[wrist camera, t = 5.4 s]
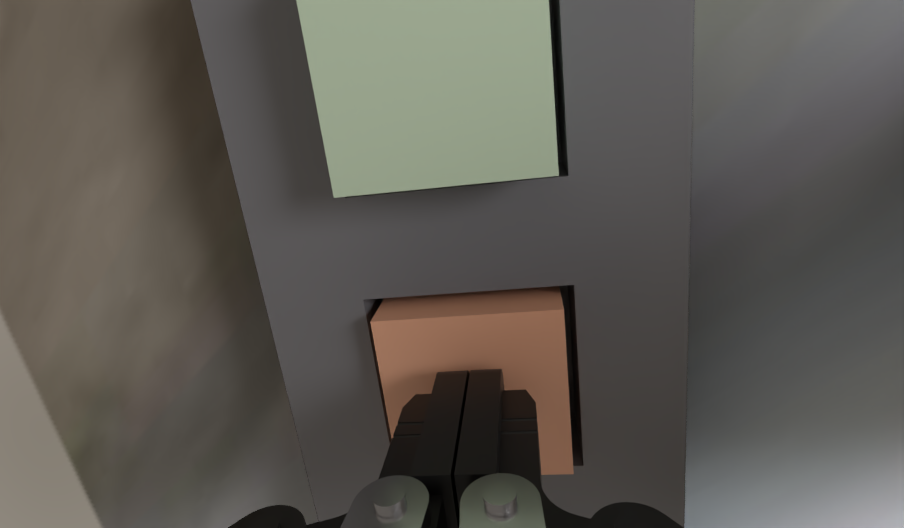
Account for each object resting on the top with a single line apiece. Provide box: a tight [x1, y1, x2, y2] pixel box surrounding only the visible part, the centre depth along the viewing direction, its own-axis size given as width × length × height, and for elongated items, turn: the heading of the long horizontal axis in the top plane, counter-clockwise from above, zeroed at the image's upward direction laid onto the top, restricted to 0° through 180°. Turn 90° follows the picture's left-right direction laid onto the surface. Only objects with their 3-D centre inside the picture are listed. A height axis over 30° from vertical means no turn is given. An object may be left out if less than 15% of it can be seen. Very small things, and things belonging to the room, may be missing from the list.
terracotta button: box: [370, 286, 574, 475], centre depth 14 cm, size 4×4×2 cm
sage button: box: [296, 0, 559, 198], centre depth 11 cm, size 4×4×2 cm
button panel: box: [191, 0, 695, 527], centre depth 15 cm, size 22×10×3 cm, turn 7°
